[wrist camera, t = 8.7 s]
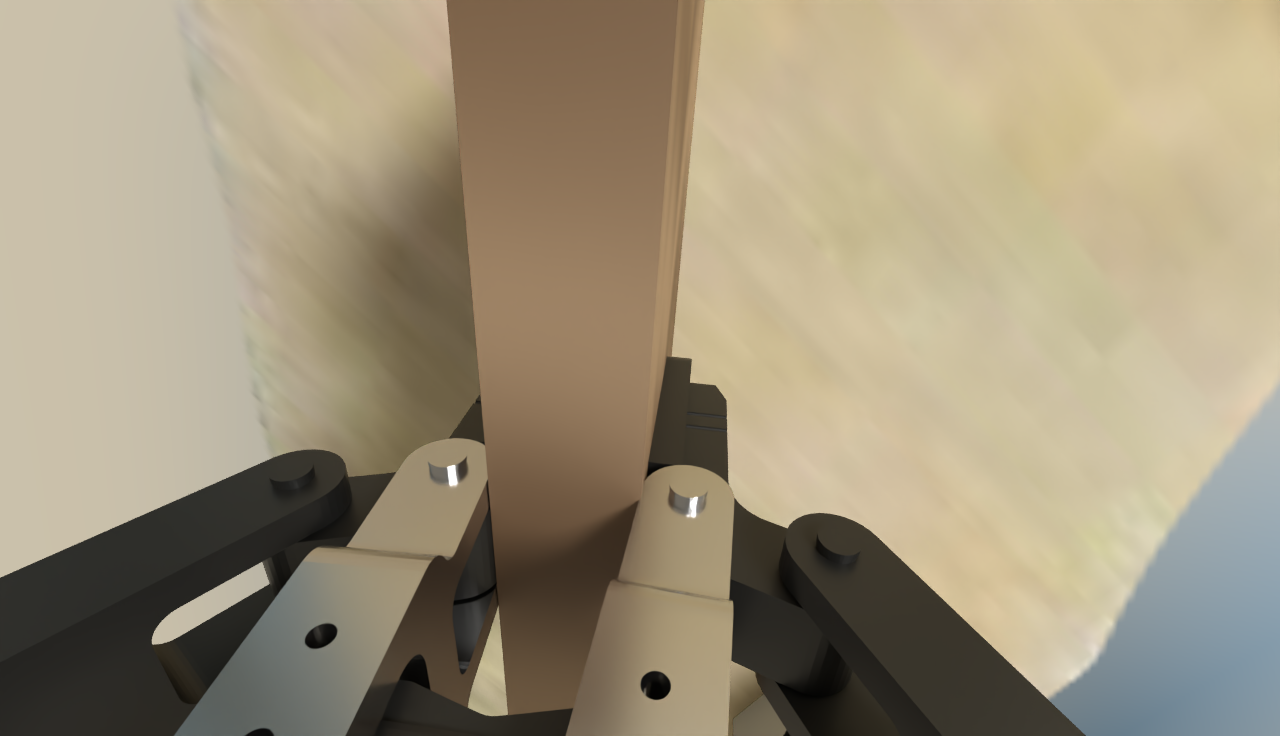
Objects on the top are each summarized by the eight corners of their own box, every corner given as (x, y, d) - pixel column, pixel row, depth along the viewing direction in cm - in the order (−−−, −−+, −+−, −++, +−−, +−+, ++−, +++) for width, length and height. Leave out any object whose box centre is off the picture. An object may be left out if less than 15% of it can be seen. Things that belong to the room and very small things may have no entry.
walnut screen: (600, -138, 10) (408, -436, 4) (717, -134, 10) (710, -437, 4) (586, 592, 19) (520, 857, 13) (648, 601, 18) (612, 872, 12)
